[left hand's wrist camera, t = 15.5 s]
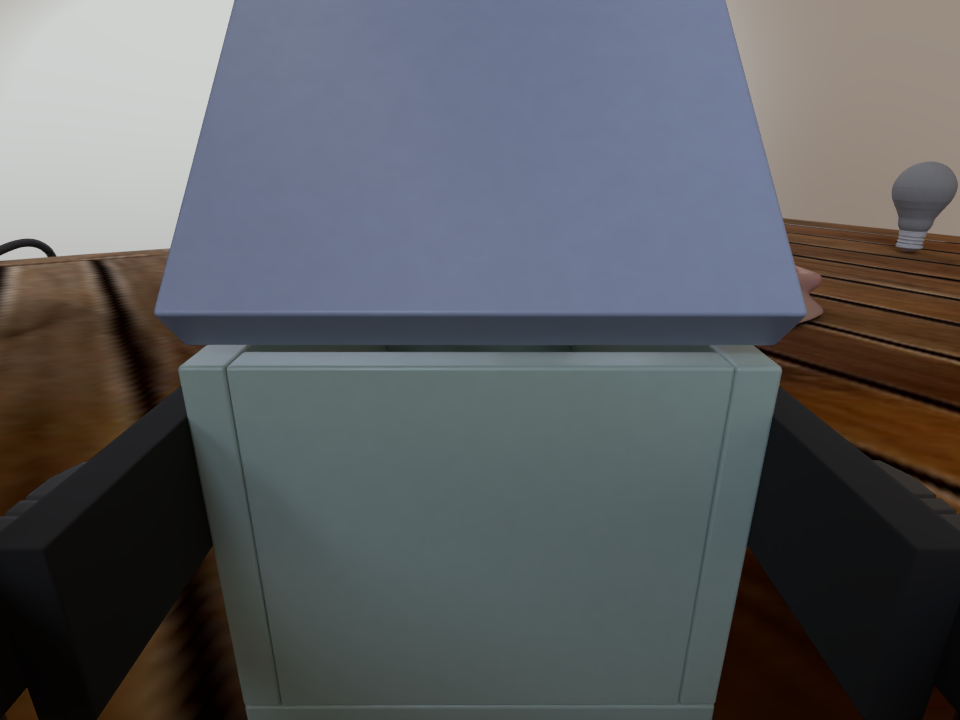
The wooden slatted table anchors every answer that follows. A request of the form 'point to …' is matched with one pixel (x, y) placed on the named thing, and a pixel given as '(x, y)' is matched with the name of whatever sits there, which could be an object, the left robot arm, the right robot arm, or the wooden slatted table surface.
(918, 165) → the light bulb
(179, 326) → the lid
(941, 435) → the wooden slatted table surface
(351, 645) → the chest
